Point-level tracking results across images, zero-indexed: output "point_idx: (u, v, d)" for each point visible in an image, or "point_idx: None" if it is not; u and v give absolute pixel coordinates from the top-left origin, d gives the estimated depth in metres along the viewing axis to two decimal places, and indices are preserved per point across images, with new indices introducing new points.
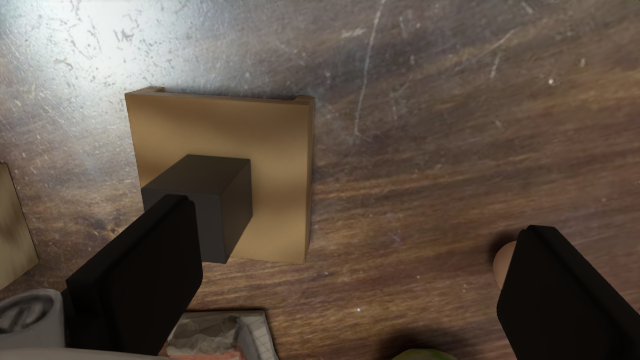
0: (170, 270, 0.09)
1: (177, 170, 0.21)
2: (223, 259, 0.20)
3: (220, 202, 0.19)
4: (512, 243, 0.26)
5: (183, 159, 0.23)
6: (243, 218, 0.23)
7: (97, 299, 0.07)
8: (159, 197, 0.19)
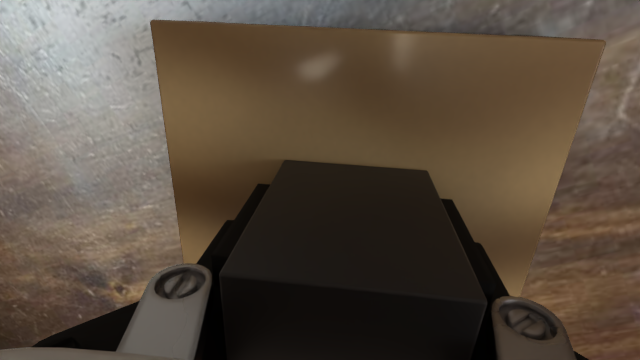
0: None
1: (290, 203, 0.08)
2: None
3: (480, 323, 0.06)
4: None
5: (284, 171, 0.10)
6: None
7: None
8: (277, 301, 0.06)
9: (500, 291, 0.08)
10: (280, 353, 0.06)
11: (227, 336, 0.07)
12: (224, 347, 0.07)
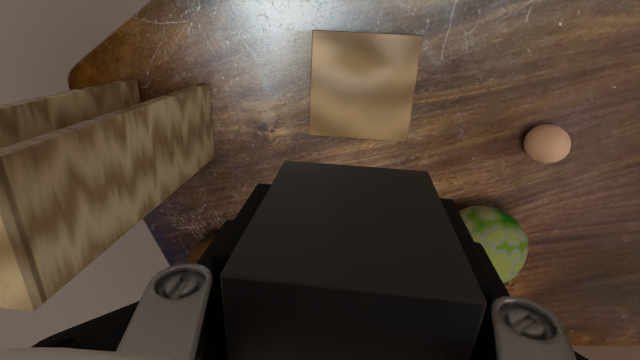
0: None
1: (291, 204, 0.08)
2: None
3: (480, 323, 0.06)
4: None
5: (284, 172, 0.10)
6: None
7: None
8: (278, 302, 0.06)
9: (500, 291, 0.08)
10: (281, 353, 0.07)
11: (228, 337, 0.07)
12: (224, 347, 0.07)
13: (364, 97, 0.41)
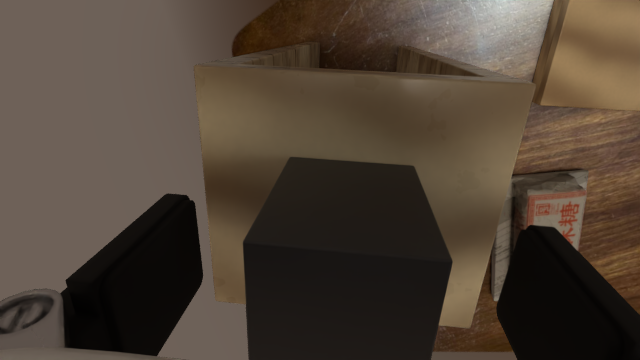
0: (170, 270, 0.09)
1: (296, 191, 0.10)
2: None
3: (447, 278, 0.07)
4: None
5: (290, 166, 0.12)
6: None
7: (97, 299, 0.07)
8: (289, 263, 0.08)
9: None
10: (290, 308, 0.08)
11: (247, 294, 0.08)
12: None
13: (623, 57, 0.34)
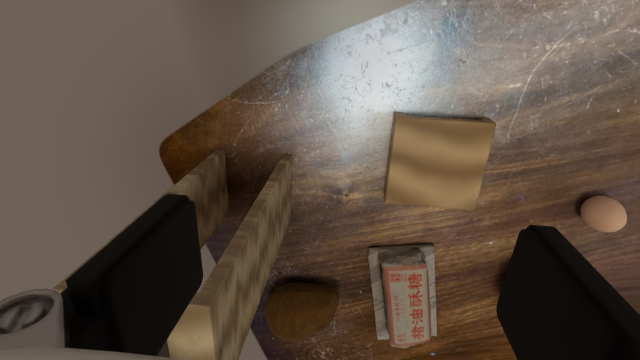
0: (170, 270, 0.09)
1: None
2: None
3: None
4: (593, 197, 0.47)
5: None
6: None
7: (97, 299, 0.07)
8: None
9: None
10: None
11: None
12: None
13: (439, 173, 0.46)
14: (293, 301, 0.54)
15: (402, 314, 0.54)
